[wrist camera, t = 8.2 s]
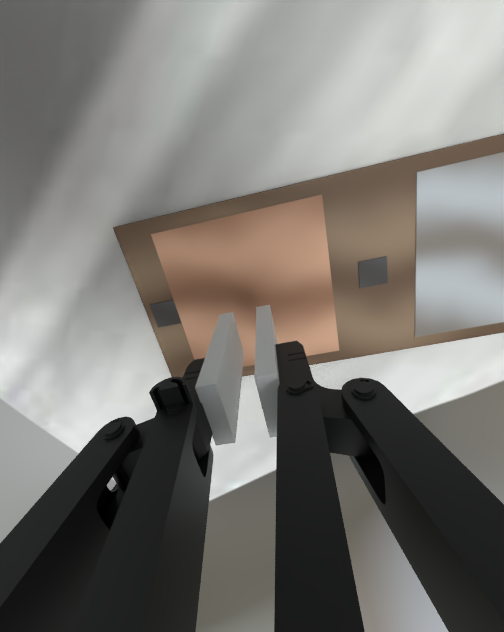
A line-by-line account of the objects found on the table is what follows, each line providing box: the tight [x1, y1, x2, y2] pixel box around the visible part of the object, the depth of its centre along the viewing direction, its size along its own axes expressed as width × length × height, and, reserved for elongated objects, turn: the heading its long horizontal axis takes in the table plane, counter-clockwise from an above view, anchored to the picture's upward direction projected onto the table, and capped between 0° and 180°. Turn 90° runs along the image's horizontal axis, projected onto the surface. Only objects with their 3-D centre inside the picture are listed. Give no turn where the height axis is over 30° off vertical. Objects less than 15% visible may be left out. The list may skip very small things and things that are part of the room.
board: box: [113, 134, 504, 377], centre depth 20 cm, size 14×33×1 cm, turn 102°
